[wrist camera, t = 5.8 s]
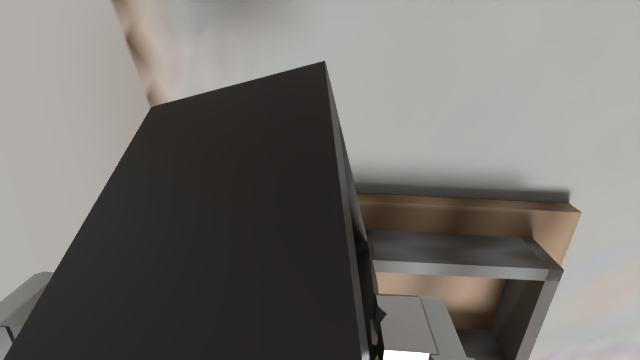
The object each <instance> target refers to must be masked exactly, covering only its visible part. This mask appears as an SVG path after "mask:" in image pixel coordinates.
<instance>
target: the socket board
mask: <svg viewBox="0 0 640 360" xmlns="http://www.w3.org/2000/svg"><path fill="white" fill-rule="evenodd" d="M357 197H358V201H359V206H360V210H361V214H362V218H363V222H364V227H365V231H366V235H367V239H368V244H369V248H370V252H371V256H372V260H373V265H374V269H375V273H376V278H377V283H378V291H379V294H396V295H414V296H418V295H422V296H440V297H441V298H442V299H443V300H444V303H445V305H446V308H447V310H448V313H449V315H450V318H451V320H452V323H453V325H454V328H455V330H456V333H457V335H458V338H459V340H460V343H461V345H462V347H463V350H464V352H465V355H466V357H468V358H474V359H475V360H528V359H529V357H530V354H531V352H532V349H533V347H534V344H535V342H536V339H537V337H538V334H539V332H540V329H541V327H542V324H543V321H544V319H545V316H546V314H547V311H548V309H549V306H550V304H551V301H552V299H553V296H554V294H555V291H556V289H557V286H558V284H559V281H560V279H561V276H562V274H563V271H564V270H563V268H562V267H561V264H562V262H563V259H564V257H565V254H566V251H567V249H568V246H569V244H570V241H571V239H572V236H573V234H574V231H575V228H576V226H577V223H578V221H579V218H580V216H581V213H582V212H580V211H579V210H578V209H576V208H575V207H573V206H572V205H571V204H568V203H548V202H528V201H508V200H488V199H469V198H449V197H429V196H409V195H389V194H369V193H357Z"/></svg>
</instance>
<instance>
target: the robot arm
mask: <svg viewBox="0 0 640 360" xmlns="http://www.w3.org/2000/svg"><path fill="white" fill-rule="evenodd" d="M53 274H54V273H53V272H41V273H37V274H34V275H33V276H32V277H31V278H29V279H28V280H27V281H26V282H25V283H23V284H22V285H21V286H20V287H18V288H17V289H16V290H15V291H14V292H12V293H11V294H10V295H9V296H7V297H6V298H5V299H4V300H2V301H1V302H0V360H3V359H4V357H5V356H6V354H7V352H8V351H9V349H10V347H11V345H12V344H13V342H14V340H15V339H16V337H17V335H18V334H19V332H20V330H21V328H22V327H23V325H24V323H25V322H26V320H27V318H28V316H29V315H30V313H31V311H32V310H33V308H34V306H35V305H36V303H37V301H38V299H39V298H40V296H41V294H42V293H43V291H44V289H45V288H46V286H47V284H48V282H49V281H50V279H51V277H52V276H53ZM372 314H373V319H372V320H370V323H369V336H370V342H371V348H372V349H374V350H376V351H377V354H378V355H377V357H376V359H375V360H475V359H474V358H468V357H466V355H465V352H464V350H463V347H462V345H461V343H460V340H459V338H458V335H457V333H456V330H455V328H454V325H453V323H452V320H451V318H450V315H449V313H448V310H447V308H446V305H445V303H444V300H443V299H442V298H441V297H440V296H422V295H418V296H414V295H396V294H378V293H374V296H373V301H372Z"/></svg>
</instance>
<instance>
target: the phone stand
mask: <svg viewBox="0 0 640 360" xmlns="http://www.w3.org/2000/svg"><path fill="white" fill-rule="evenodd" d="M374 293H378V294H379V291H378V283H377V278H376V273H375V269H374V265H373V260H372V256H371V252H370V248H369V244H368V239H367V235H366V231H365V227H364V222H363V218H362V214H361V210H360V206H359V201H358V197H357V193H356V189H355V186H354V181H353V176H352V172H351V168H350V163H349V159H348V155H347V151H346V147H345V142H344V138H343V134H342V130H341V126H340V121H339V117H338V113H337V109H336V104H335V100H334V96H333V92H332V88H331V83H330V79H329V75H328V71H327V67H326V63H325V61H322V62H318V63H315V64H311V65H307V66H303V67H300V68H296V69H292V70H288V71H285V72H281V73H277V74H273V75H270V76H266V77H262V78H258V79H255V80H251V81H247V82H243V83H240V84H236V85H232V86H228V87H224V88H221V89H217V90H213V91H209V92H206V93H202V94H198V95H194V96H191V97H187V98H183V99H179V100H176V101H172V102H168V103H164V104H161V105H157V106H153V107H151V109H150V110H149V112H148V114H147V116H146V117H145V119H144V121H143V122H142V124H141V126H140V128H139V129H138V131H137V132H136V134H135V136H134V138H133V140H132V141H131V143H130V144H129V146H128V148H127V150H126V151H125V153H124V155H123V156H122V158H121V160H120V161H119V163H118V165H117V167H116V168H115V170H114V172H113V173H112V175H111V177H110V178H109V180H108V182H107V184H106V186H105V187H104V189H103V191H102V192H101V194H100V196H99V197H98V199H97V201H96V202H95V204H94V206H93V207H92V209H91V211H90V213H89V214H88V216H87V218H86V219H85V221H84V223H83V224H82V226H81V228H80V230H79V231H78V233H77V235H76V236H75V238H74V240H73V242H72V243H71V245H70V247H69V248H68V250H67V252H66V253H65V255H64V257H63V259H62V260H61V262H60V264H59V265H58V267H57V269H56V270H55V272H54V274H53V276H52V277H51V279H50V281H49V282H48V284H47V286H46V288H45V289H44V291H43V293H42V294H41V296H40V298H39V299H38V301H37V303H36V305H35V306H34V308H33V310H32V311H31V313H30V315H29V316H28V318H27V320H26V322H25V323H24V325H23V327H22V328H21V330H20V332H19V334H18V335H17V337H16V339H15V340H14V342H13V344H12V345H11V347H10V349H9V351H8V352H7V354H6V356H5V357H4V359H3V360H375V359H376V357H377V355H378V354H377V351H376V350H374V349H372V348H371V342H370V336H369V323H370V320H372V319H373V314H372V301H373V296H374Z"/></svg>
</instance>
